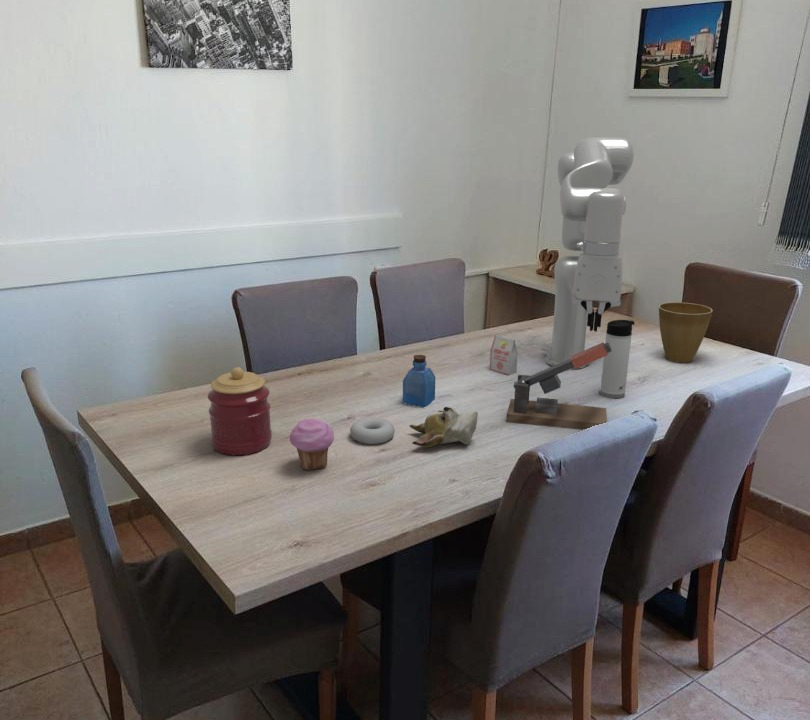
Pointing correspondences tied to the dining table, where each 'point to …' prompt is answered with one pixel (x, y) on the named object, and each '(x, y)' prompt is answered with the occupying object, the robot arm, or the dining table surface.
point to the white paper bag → (503, 356)
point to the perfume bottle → (419, 384)
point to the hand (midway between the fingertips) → (593, 329)
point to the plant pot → (683, 329)
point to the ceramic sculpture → (446, 428)
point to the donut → (372, 430)
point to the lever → (565, 368)
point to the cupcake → (312, 442)
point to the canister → (239, 413)
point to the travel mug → (616, 358)
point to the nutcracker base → (562, 416)
